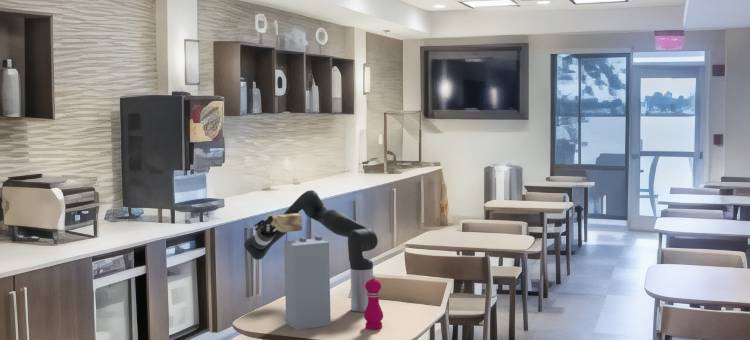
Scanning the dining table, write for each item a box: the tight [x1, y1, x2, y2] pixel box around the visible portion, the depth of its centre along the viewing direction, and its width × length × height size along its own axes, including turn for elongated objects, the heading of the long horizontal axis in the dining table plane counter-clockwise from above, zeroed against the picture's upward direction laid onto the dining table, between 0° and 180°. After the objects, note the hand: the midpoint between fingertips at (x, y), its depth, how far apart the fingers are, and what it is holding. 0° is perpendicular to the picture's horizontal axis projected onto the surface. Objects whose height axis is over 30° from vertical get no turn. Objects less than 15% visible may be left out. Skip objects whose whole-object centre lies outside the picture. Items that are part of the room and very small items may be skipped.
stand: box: [283, 235, 332, 331], centre depth 313 cm, size 14×11×33 cm
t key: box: [267, 213, 303, 233], centre depth 325 cm, size 8×24×6 cm, turn 26°
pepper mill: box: [363, 274, 384, 331], centre depth 307 cm, size 7×7×20 cm
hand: (276, 217), depth 330 cm, fingers closed on t key, 3 cm apart
